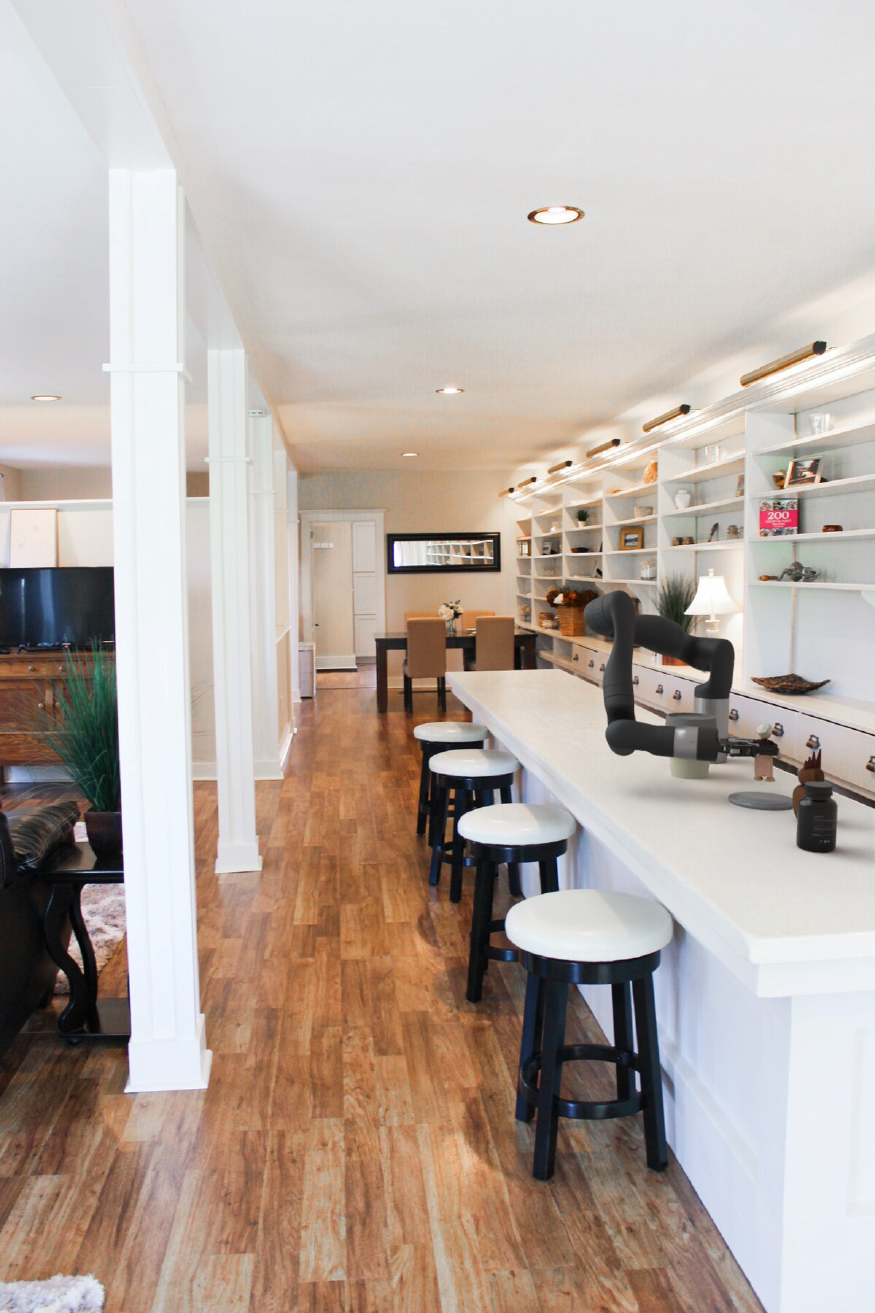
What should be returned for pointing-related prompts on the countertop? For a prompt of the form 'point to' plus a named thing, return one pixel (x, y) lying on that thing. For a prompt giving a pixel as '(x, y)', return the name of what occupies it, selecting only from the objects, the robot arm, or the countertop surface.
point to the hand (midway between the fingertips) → (777, 749)
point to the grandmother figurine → (764, 762)
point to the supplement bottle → (817, 818)
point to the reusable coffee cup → (683, 766)
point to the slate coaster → (761, 800)
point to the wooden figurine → (807, 777)
